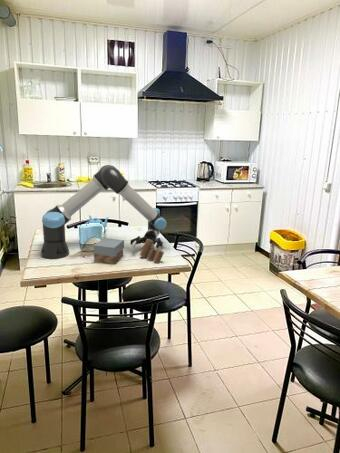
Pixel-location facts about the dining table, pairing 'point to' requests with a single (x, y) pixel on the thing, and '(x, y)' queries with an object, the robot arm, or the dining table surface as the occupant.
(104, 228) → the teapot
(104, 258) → the tower base
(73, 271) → the dining table surface
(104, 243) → the tower top
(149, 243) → the wooden block set
